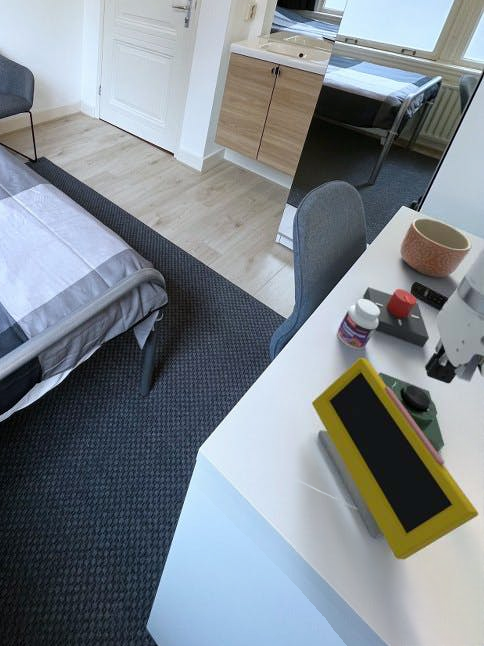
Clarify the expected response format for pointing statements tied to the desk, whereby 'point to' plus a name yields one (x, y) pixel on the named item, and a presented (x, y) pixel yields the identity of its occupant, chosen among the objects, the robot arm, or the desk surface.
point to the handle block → (398, 320)
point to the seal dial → (401, 303)
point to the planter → (434, 247)
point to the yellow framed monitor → (388, 463)
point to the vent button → (415, 398)
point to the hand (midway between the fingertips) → (436, 375)
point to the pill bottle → (359, 324)
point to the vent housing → (418, 412)
